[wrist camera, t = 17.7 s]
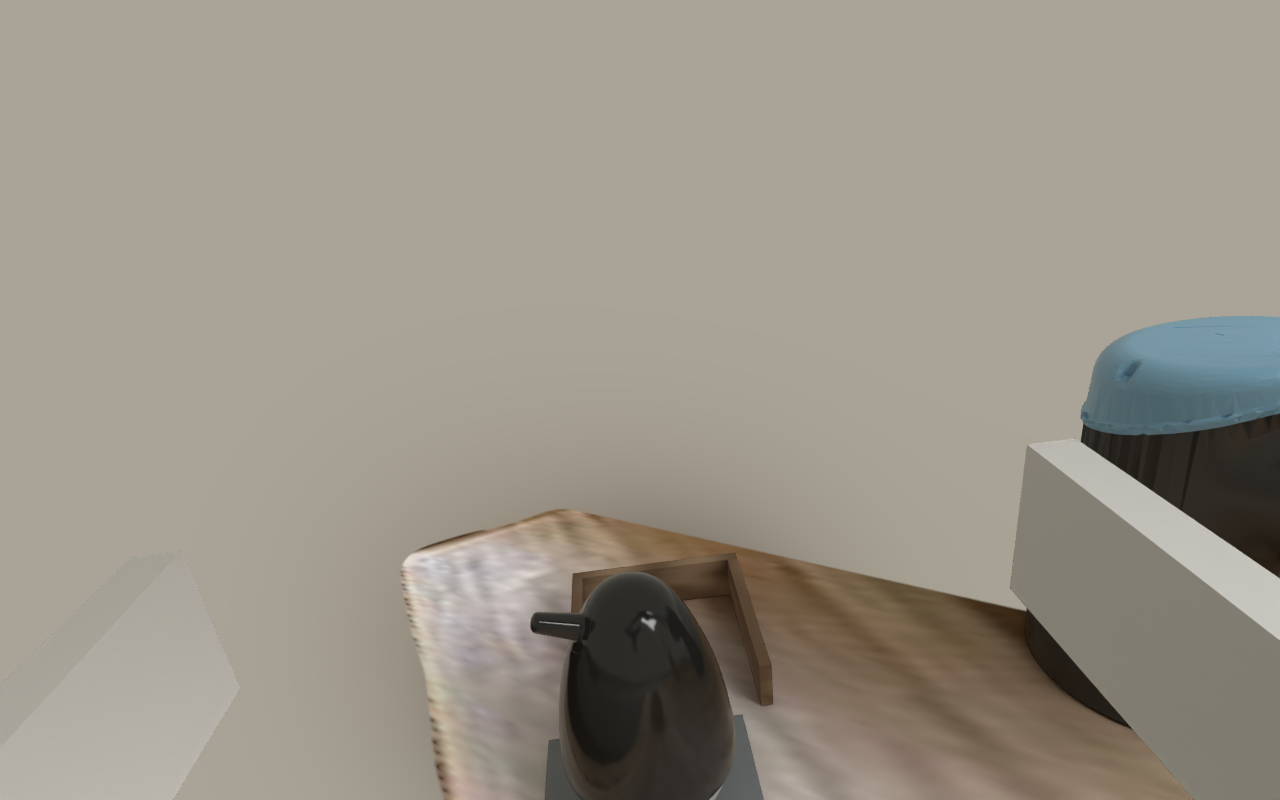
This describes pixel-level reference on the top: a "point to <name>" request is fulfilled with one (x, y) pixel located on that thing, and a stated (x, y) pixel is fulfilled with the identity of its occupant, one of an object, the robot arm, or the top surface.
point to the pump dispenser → (640, 696)
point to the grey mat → (736, 796)
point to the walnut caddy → (700, 582)
